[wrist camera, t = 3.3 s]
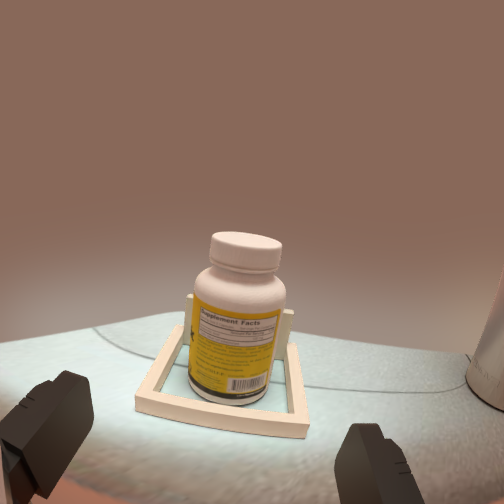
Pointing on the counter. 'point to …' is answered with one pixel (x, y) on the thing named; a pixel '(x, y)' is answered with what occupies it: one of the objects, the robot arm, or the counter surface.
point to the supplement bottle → (236, 319)
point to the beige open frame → (223, 415)
